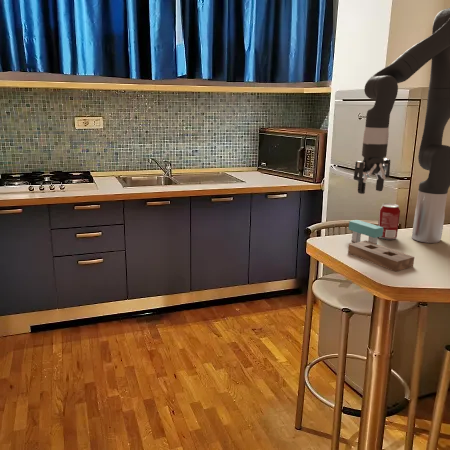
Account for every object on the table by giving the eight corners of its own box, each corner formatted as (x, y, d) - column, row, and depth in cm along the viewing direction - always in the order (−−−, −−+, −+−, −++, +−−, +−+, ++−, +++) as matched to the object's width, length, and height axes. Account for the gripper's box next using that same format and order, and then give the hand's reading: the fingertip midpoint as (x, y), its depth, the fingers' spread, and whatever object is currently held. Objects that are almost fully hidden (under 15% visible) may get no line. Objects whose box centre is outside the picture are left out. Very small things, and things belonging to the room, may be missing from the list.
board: (365, 249, 147) (366, 240, 146) (413, 266, 133) (414, 257, 132) (347, 253, 143) (348, 244, 142) (395, 271, 128) (396, 261, 128)
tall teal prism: (355, 238, 158) (357, 219, 156) (380, 247, 149) (383, 227, 147) (347, 240, 156) (349, 221, 154) (372, 249, 147) (375, 229, 145)
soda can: (398, 241, 156) (402, 207, 153) (377, 239, 157) (381, 206, 154) (394, 235, 163) (399, 203, 159) (375, 234, 164) (379, 202, 161)
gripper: (380, 140, 149) (375, 188, 154) (350, 141, 142) (346, 192, 146) (399, 142, 143) (394, 192, 148) (369, 144, 136) (364, 196, 140)
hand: (370, 192), depth 147 cm, fingers open, 8 cm apart
